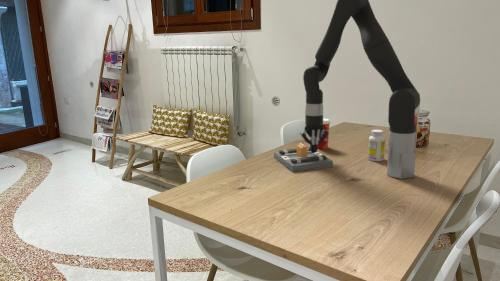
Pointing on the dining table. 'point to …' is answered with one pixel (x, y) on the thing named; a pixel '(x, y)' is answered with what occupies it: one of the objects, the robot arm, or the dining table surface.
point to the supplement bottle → (376, 146)
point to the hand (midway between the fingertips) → (313, 152)
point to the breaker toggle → (302, 150)
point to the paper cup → (325, 141)
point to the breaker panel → (286, 161)
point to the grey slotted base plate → (300, 160)
